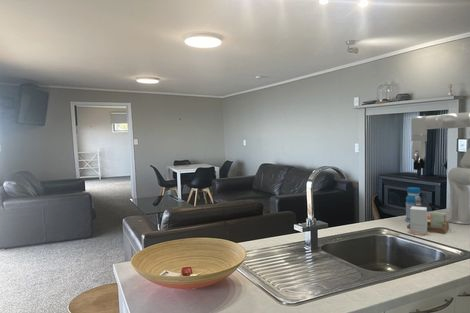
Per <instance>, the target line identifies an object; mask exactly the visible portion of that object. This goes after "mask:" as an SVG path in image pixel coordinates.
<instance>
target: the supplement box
mask: <svg viewBox="0 0 470 313" xmlns="http://www.w3.org/2000/svg"><path fill="white" fill-rule="evenodd" d="M427 222H428V207H426V206H422V207H414V206H412V207H411V208H410V222H409V224H410V229H409V230H410V231H411V232H413V233H422V234H426V233H427V232H428V231H427Z"/></svg>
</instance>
